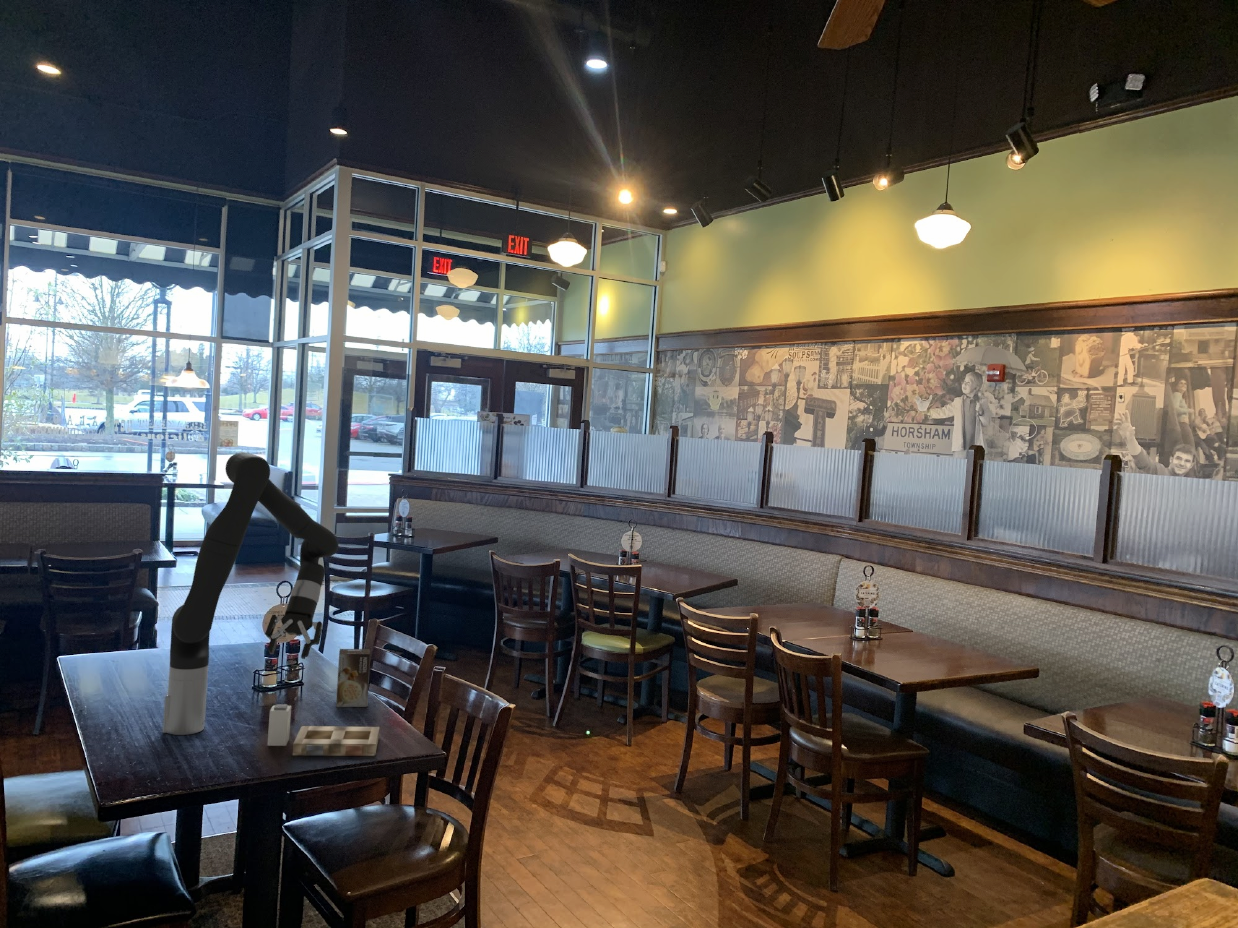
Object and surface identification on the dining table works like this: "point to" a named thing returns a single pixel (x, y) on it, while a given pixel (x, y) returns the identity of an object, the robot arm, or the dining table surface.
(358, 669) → the coffee box
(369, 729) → the socket board
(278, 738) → the white tall rectangular block
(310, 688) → the dining table surface
